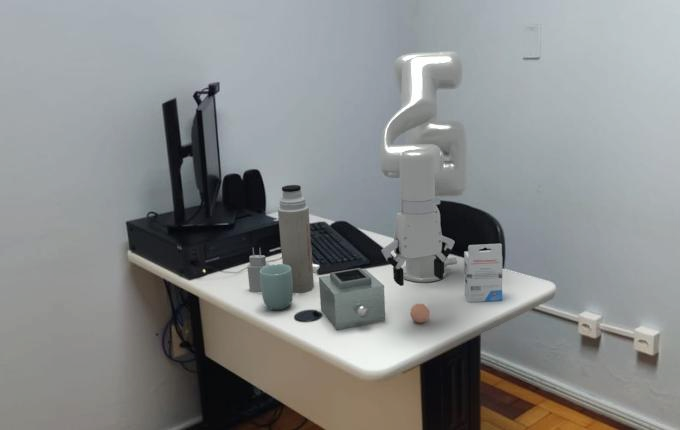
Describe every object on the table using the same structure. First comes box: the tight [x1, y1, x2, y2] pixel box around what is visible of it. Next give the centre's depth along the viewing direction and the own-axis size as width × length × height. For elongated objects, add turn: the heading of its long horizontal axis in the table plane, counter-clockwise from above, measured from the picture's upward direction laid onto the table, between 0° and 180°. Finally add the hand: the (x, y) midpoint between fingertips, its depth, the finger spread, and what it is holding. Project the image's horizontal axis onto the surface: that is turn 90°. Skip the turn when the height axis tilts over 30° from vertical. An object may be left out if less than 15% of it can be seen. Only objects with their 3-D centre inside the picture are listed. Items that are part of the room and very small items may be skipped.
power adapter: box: [247, 247, 270, 293], centre depth 165 cm, size 3×5×12 cm, turn 80°
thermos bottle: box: [277, 184, 315, 294], centre depth 163 cm, size 8×8×28 cm
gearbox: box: [318, 267, 386, 331], centre depth 146 cm, size 12×14×10 cm
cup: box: [260, 263, 294, 311], centre depth 154 cm, size 8×8×10 cm
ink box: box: [463, 243, 503, 303], centre depth 152 cm, size 8×5×15 cm, turn 90°
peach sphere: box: [409, 303, 431, 324], centre depth 142 cm, size 4×4×4 cm
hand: (419, 280), depth 139 cm, fingers open, 9 cm apart
